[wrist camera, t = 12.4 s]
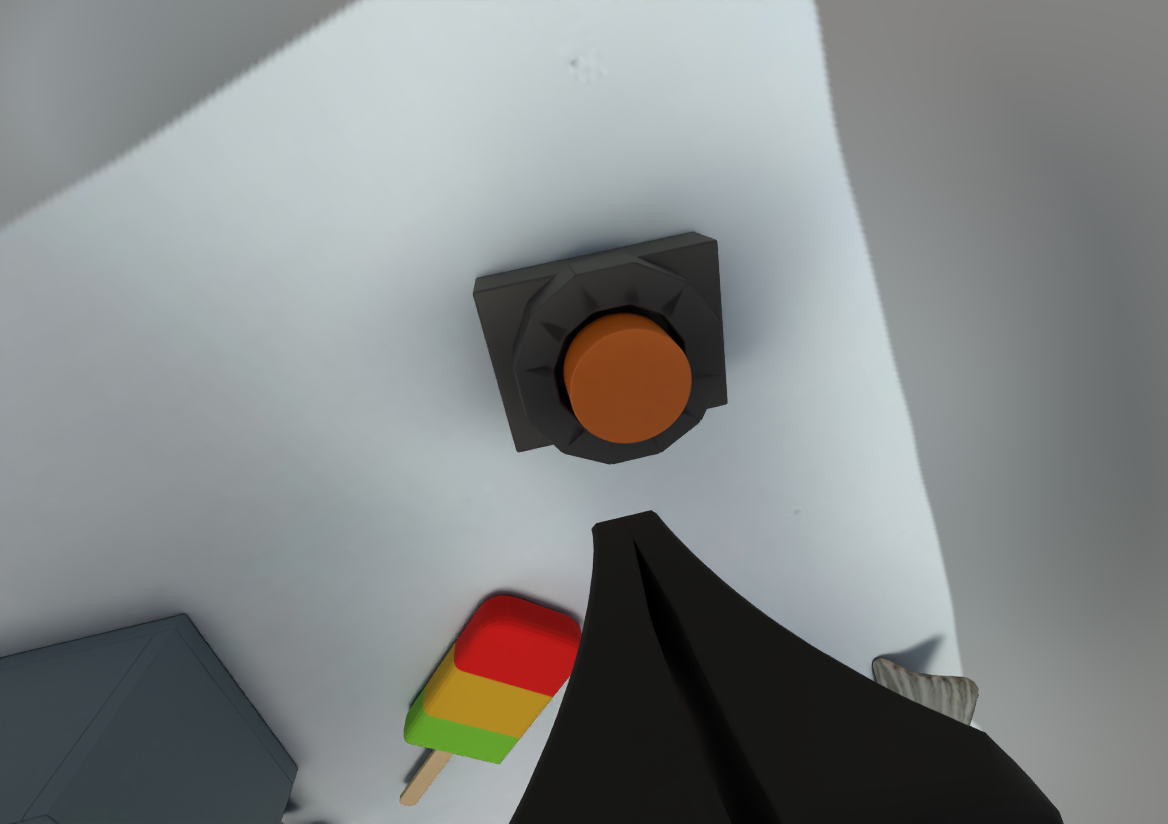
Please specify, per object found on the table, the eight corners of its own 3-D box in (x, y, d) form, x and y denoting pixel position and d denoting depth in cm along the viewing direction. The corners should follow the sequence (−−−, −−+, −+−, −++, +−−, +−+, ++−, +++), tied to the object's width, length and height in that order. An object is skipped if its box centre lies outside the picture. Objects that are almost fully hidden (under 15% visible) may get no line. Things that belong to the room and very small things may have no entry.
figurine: (996, 1030, 30) (1018, 851, 36) (1054, 898, 21) (1070, 687, 27) (836, 915, 36) (878, 777, 42) (826, 772, 27) (881, 620, 33)
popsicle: (590, 618, 26) (596, 650, 25) (453, 793, 31) (450, 831, 29) (490, 582, 24) (490, 614, 23) (360, 774, 29) (351, 813, 27)
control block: (694, 223, 19) (741, 238, 15) (708, 388, 22) (749, 433, 18) (473, 271, 18) (466, 298, 15) (516, 431, 21) (520, 487, 18)
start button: (668, 300, 16) (686, 316, 15) (679, 405, 18) (696, 429, 16) (552, 326, 16) (558, 344, 14) (574, 429, 18) (582, 455, 16)
